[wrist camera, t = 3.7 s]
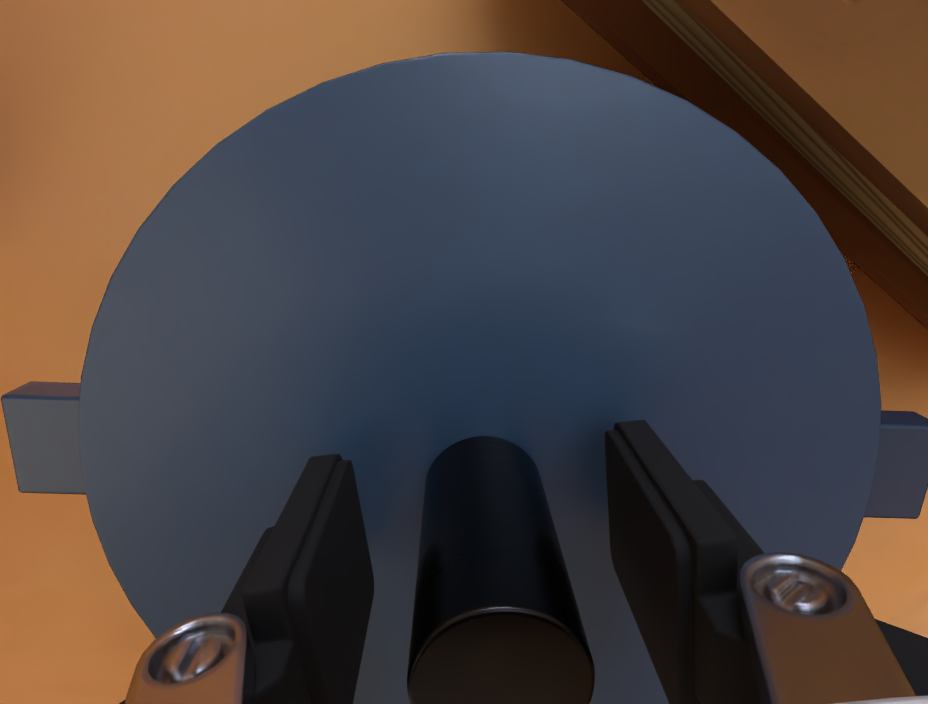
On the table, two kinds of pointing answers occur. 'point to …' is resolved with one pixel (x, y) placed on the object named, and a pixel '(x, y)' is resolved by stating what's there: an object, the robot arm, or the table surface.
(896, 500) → the pan
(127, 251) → the pan lid
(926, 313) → the diary
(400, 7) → the table surface
